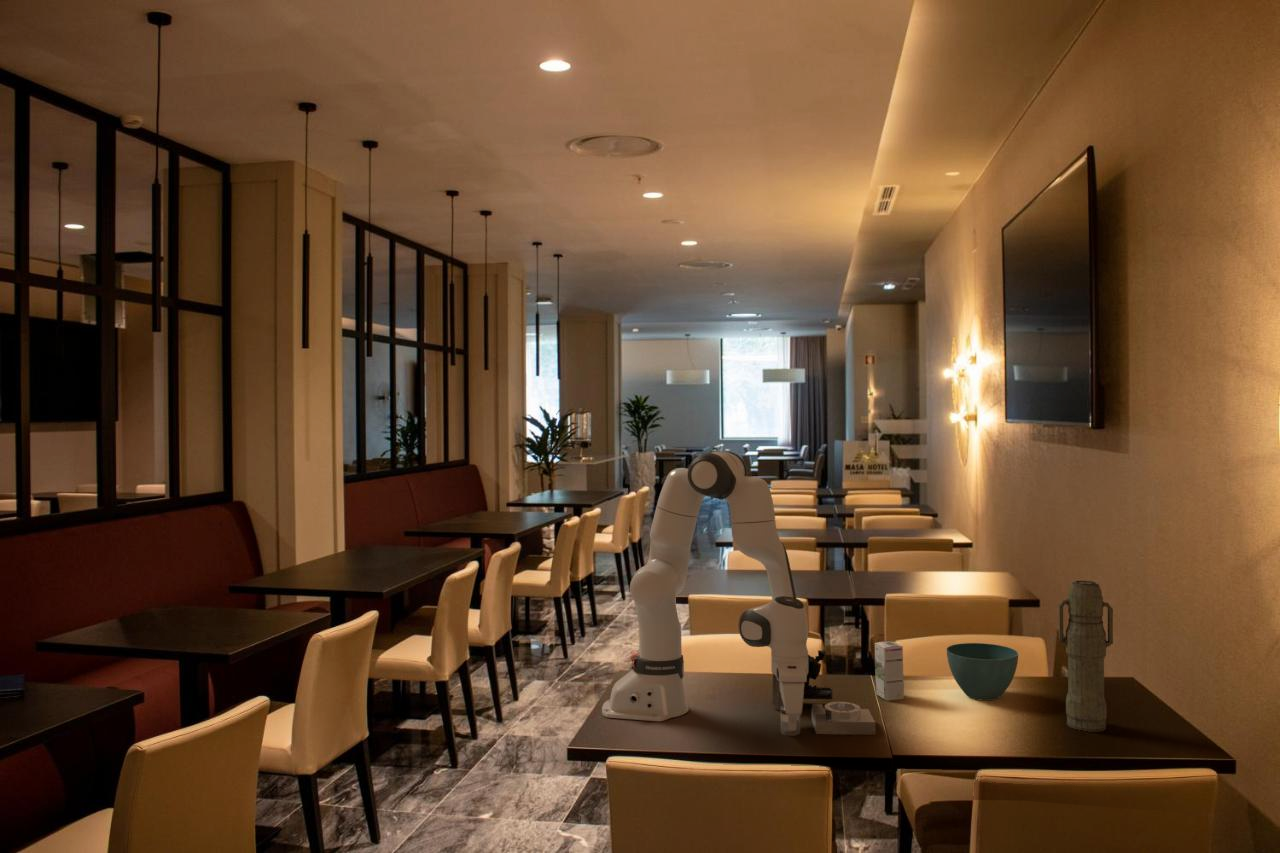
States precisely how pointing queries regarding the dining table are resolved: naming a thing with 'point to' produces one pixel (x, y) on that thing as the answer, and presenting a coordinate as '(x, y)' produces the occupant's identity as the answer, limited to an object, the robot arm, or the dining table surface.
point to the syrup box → (889, 670)
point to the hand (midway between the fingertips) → (790, 722)
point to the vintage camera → (809, 690)
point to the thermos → (1086, 655)
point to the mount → (842, 719)
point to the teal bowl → (982, 668)
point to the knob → (784, 724)
